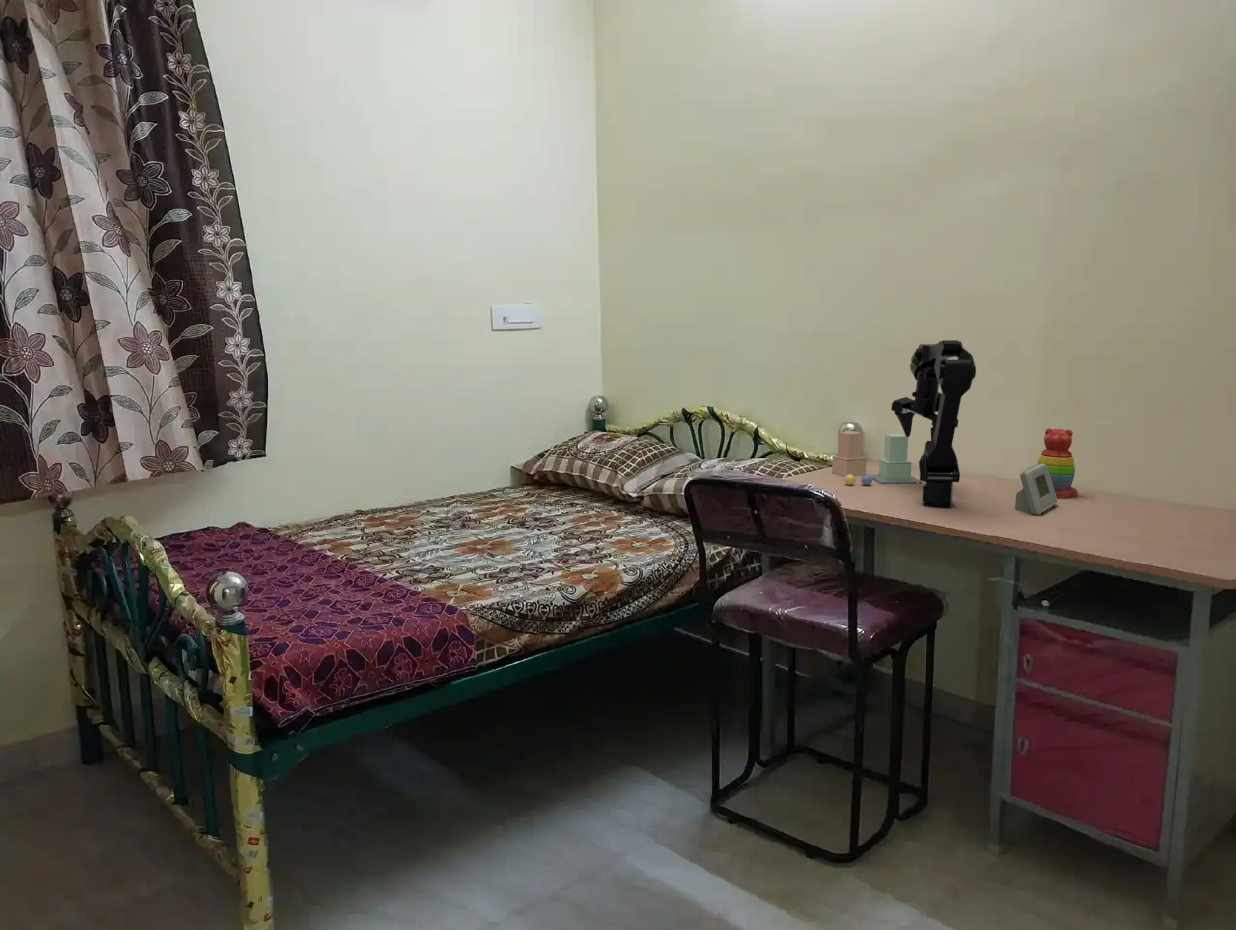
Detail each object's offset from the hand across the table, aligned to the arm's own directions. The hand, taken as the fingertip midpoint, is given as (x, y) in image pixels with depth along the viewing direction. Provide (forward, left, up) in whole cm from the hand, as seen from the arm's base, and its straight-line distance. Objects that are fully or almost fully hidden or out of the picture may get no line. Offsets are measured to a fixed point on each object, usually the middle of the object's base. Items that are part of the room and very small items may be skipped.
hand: (920, 442), depth 257 cm
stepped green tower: (+8, -9, -12) cm, 17 cm away
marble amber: (+18, +5, -10) cm, 21 cm away
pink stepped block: (+22, -13, -13) cm, 28 cm away
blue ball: (+14, +3, -10) cm, 17 cm away
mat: (+8, -9, -13) cm, 17 cm away
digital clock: (-31, +16, -13) cm, 37 cm away
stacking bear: (-34, -5, -13) cm, 37 cm away
